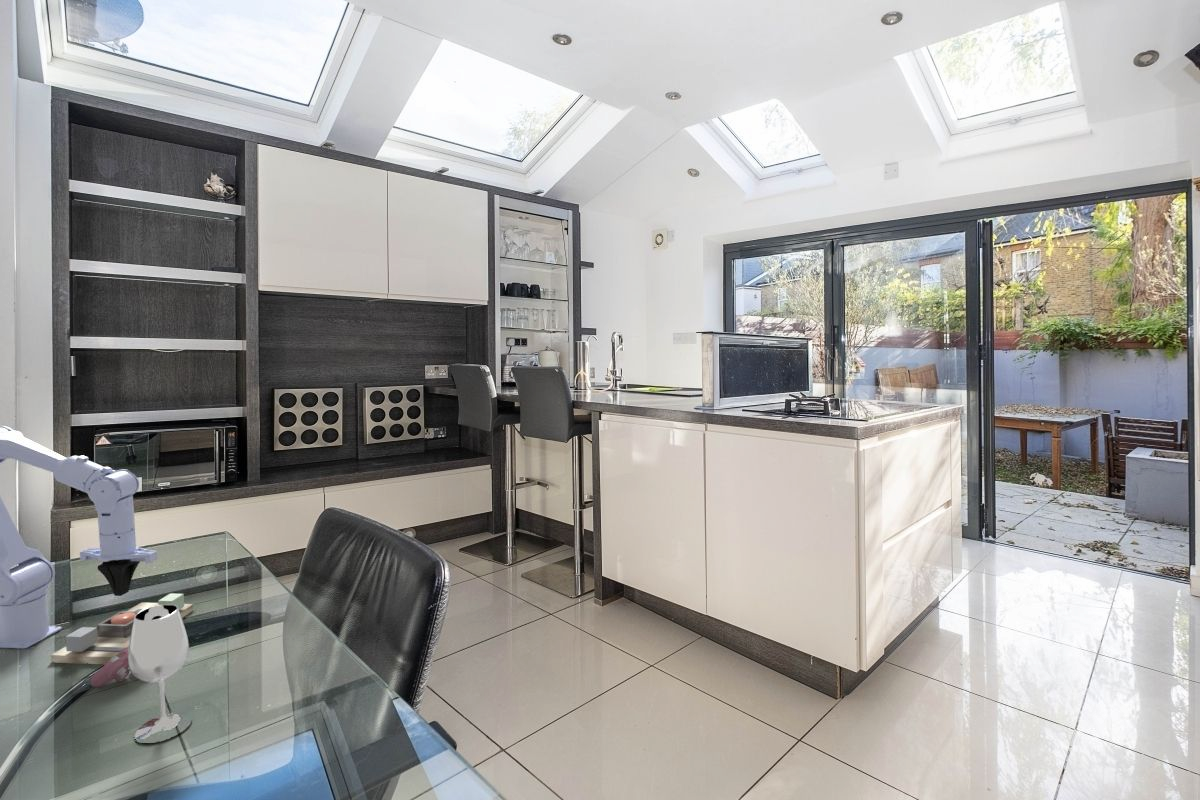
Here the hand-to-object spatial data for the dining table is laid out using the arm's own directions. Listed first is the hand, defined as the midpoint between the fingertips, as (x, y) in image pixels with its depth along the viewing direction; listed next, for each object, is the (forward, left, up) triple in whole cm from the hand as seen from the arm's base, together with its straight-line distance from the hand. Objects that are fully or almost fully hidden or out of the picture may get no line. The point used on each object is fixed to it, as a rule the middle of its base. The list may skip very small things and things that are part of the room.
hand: (121, 593), depth 121 cm
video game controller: (+11, -13, -10) cm, 20 cm away
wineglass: (+29, -27, -10) cm, 41 cm away
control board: (0, +1, -9) cm, 9 cm away
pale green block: (+4, +8, -7) cm, 12 cm away
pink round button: (0, 0, -8) cm, 8 cm away
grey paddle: (-2, -8, -7) cm, 11 cm away
